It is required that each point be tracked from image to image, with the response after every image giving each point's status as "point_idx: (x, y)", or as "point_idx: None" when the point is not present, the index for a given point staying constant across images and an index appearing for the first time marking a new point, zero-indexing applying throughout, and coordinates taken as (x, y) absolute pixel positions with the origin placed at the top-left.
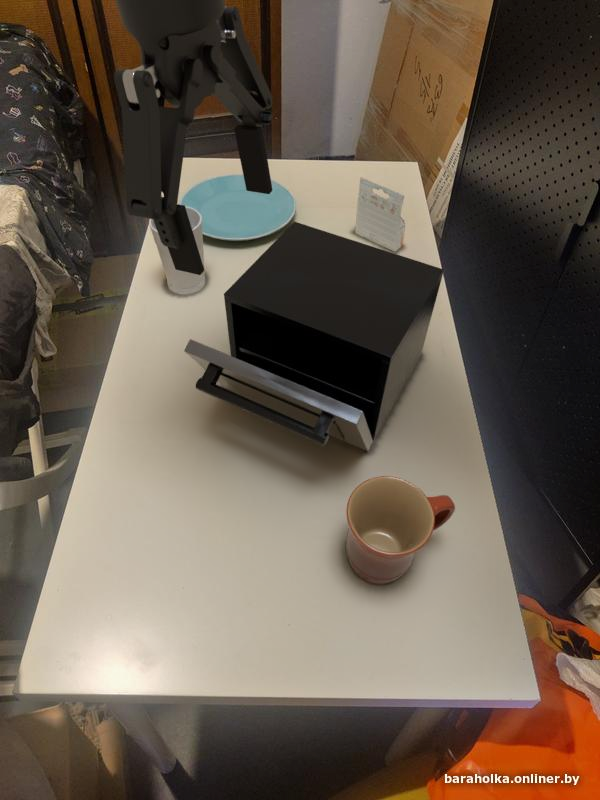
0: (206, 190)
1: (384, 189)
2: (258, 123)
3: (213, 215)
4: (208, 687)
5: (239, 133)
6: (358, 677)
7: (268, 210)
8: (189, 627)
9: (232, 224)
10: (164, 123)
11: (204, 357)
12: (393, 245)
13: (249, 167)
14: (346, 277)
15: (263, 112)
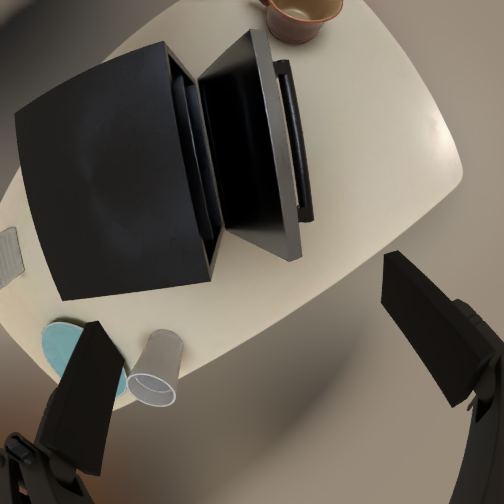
0: None
1: None
2: (42, 452)
3: None
4: (423, 84)
5: (93, 461)
6: (365, 11)
7: (63, 343)
8: (410, 111)
9: None
10: None
11: (297, 230)
12: (12, 232)
13: (103, 390)
14: (79, 181)
15: (21, 460)
